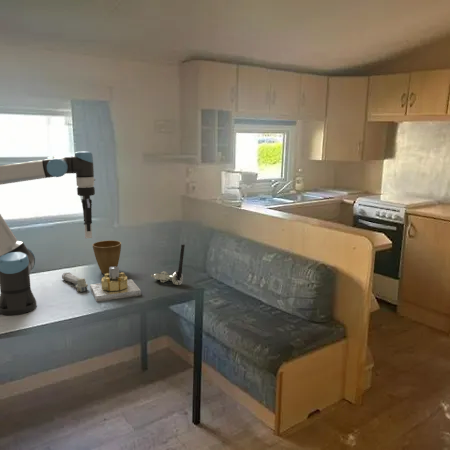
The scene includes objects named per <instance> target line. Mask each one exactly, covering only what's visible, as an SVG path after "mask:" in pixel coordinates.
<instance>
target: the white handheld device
mask: <svg viewBox="0 0 450 450" xmlns="http://www.w3.org/2000/svg"><path fill="white" fill-rule="evenodd" d="M61 278H62V279H63V281H66V282H69V283H72V284H76V285H75V288H76V292H82V293H83V292H86V291H88V286H89V284H88V283H87V281H86V279H85V277H78V276H76V275H73V274H72V273H71V272H64V273H63V274H62V275H61Z"/></svg>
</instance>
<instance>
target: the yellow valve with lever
mask: <svg viewBox="0 0 450 450" xmlns="http://www.w3.org/2000/svg"><path fill="white" fill-rule="evenodd" d="M103 275H104V276H103V277H101V281H100V283H102V289H103V290H107V291H118V290H122V289H125V288H127V286H128V284H127V280H128V276H127V275H126V274H125V272H123V271H122V272H119V277H118V280H117V281H110V276H109V273H107V274H103Z"/></svg>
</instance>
